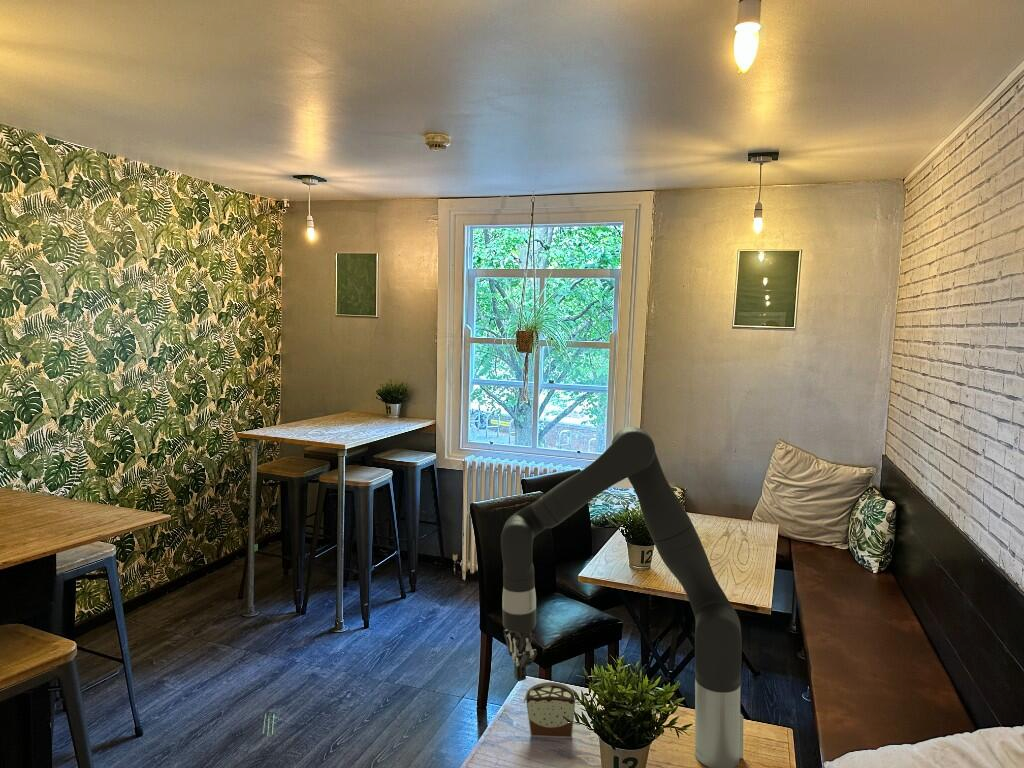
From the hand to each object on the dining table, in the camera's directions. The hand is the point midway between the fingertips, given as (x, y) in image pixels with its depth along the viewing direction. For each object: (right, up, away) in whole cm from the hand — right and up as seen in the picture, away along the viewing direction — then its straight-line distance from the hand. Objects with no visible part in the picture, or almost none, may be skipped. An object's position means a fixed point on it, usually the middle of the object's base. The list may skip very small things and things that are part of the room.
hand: (520, 678), depth 148 cm
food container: (+7, -14, +5) cm, 16 cm away
